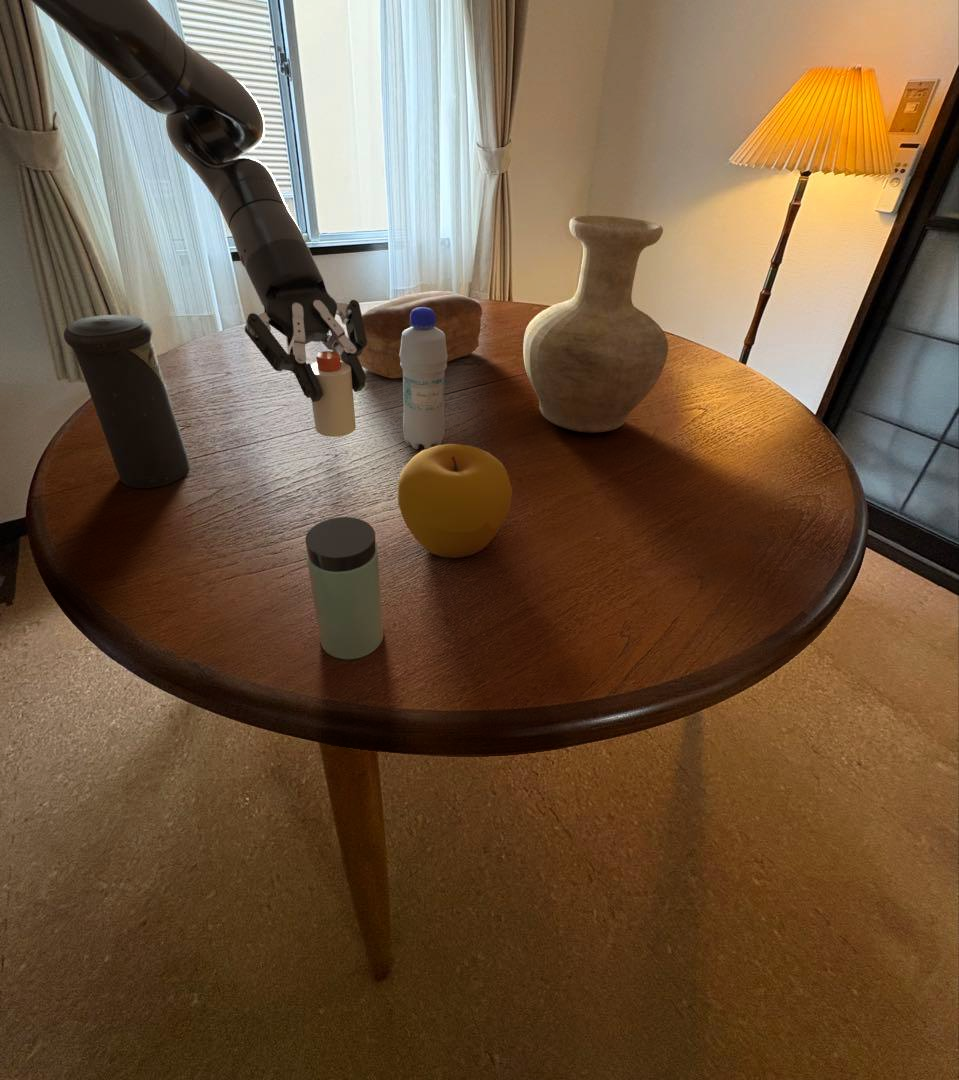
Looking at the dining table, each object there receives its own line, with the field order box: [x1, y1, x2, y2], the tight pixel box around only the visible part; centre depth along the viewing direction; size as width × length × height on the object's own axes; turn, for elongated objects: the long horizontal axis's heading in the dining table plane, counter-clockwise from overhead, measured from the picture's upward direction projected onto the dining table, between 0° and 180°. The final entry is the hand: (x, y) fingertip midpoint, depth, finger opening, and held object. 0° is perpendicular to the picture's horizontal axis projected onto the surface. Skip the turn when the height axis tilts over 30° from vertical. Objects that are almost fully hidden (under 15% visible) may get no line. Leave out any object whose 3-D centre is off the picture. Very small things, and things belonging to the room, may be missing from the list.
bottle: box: [399, 307, 448, 450], centre depth 80 cm, size 7×7×20 cm
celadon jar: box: [304, 516, 385, 660], centre depth 50 cm, size 6×6×12 cm
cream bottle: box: [310, 350, 357, 438], centre depth 66 cm, size 5×5×9 cm
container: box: [63, 314, 191, 489], centre depth 69 cm, size 9×9×20 cm
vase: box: [522, 215, 669, 434], centre depth 87 cm, size 22×22×30 cm
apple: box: [396, 443, 513, 559], centre depth 64 cm, size 13×13×11 cm
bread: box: [357, 290, 483, 379], centre depth 112 cm, size 14×28×12 cm, turn 141°
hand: (339, 392), depth 64 cm, fingers closed on cream bottle, 4 cm apart
